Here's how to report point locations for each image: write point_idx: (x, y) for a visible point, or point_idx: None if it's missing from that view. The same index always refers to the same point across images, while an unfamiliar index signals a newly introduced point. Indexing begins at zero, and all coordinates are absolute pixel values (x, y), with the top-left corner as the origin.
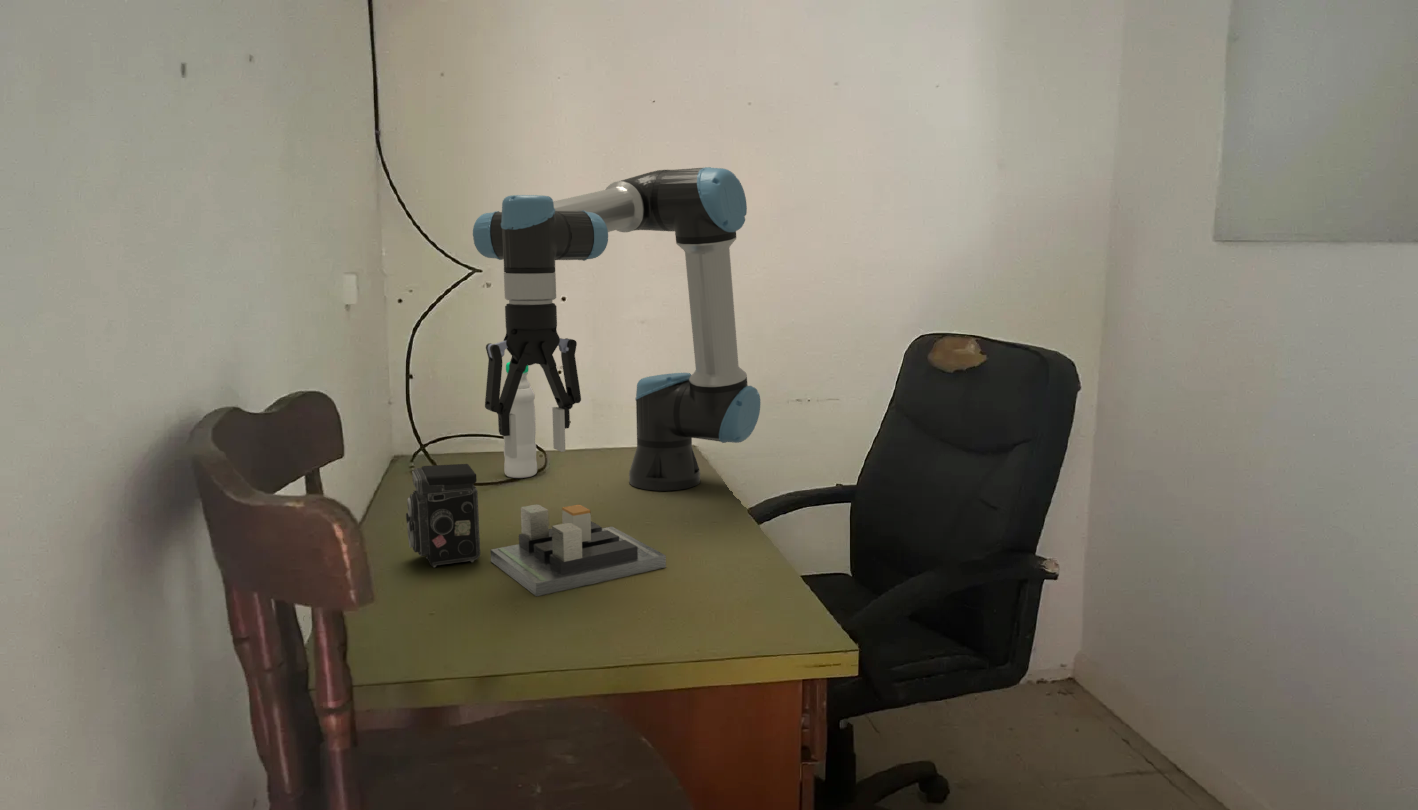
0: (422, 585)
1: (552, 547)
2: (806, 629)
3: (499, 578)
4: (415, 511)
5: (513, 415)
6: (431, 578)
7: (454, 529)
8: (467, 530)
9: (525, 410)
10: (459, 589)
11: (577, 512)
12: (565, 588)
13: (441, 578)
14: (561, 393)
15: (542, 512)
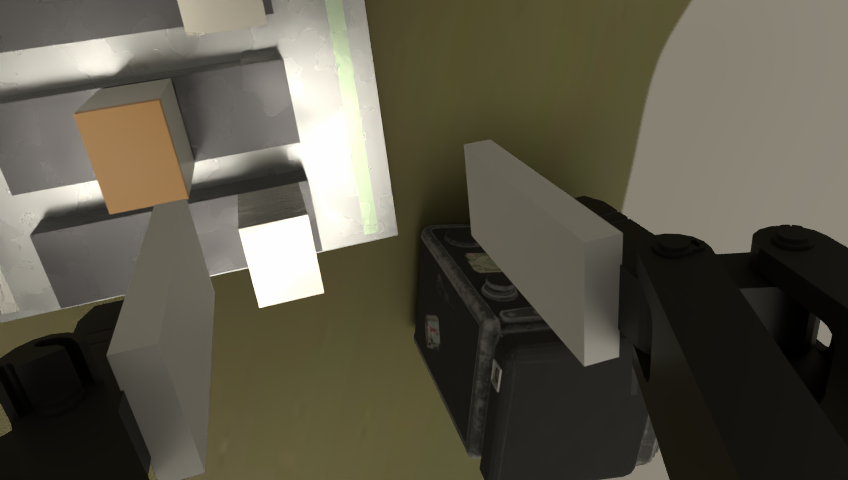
0: (574, 116)
1: (248, 86)
2: None
3: (399, 87)
4: None
5: (599, 236)
6: (544, 156)
7: None
8: (474, 259)
9: None
10: (509, 49)
11: (137, 105)
12: None
13: (525, 146)
14: (102, 478)
15: (261, 221)
